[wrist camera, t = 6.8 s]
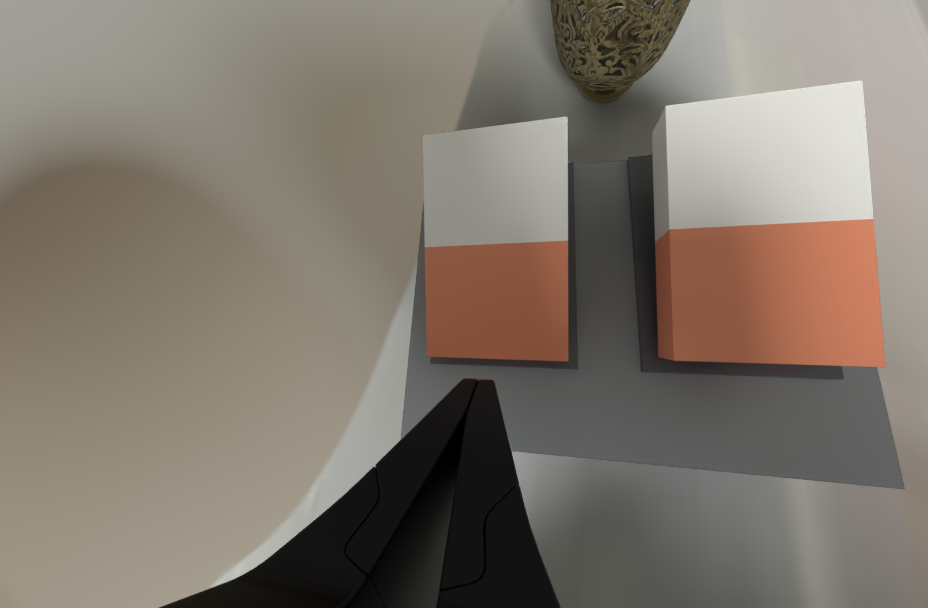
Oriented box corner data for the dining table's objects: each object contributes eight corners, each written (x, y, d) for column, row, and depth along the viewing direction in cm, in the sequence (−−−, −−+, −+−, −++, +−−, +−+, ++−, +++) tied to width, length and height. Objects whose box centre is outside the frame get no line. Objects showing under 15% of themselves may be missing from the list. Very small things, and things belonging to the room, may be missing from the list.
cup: (608, 25, 25) (631, -131, 18) (690, 78, 23) (758, -79, 15) (527, 92, 26) (516, -35, 18) (600, 151, 23) (622, 32, 16)
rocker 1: (566, 351, 14) (568, 361, 12) (443, 347, 15) (426, 356, 13) (565, 141, 13) (567, 116, 11) (439, 155, 15) (422, 135, 13)
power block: (769, 457, 17) (916, 497, 10) (448, 430, 21) (397, 445, 14) (735, 226, 20) (830, 135, 13) (461, 240, 24) (423, 175, 17)
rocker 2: (828, 361, 11) (885, 366, 9) (654, 356, 12) (673, 360, 11) (812, 121, 12) (861, 80, 10) (649, 139, 13) (665, 105, 11)
